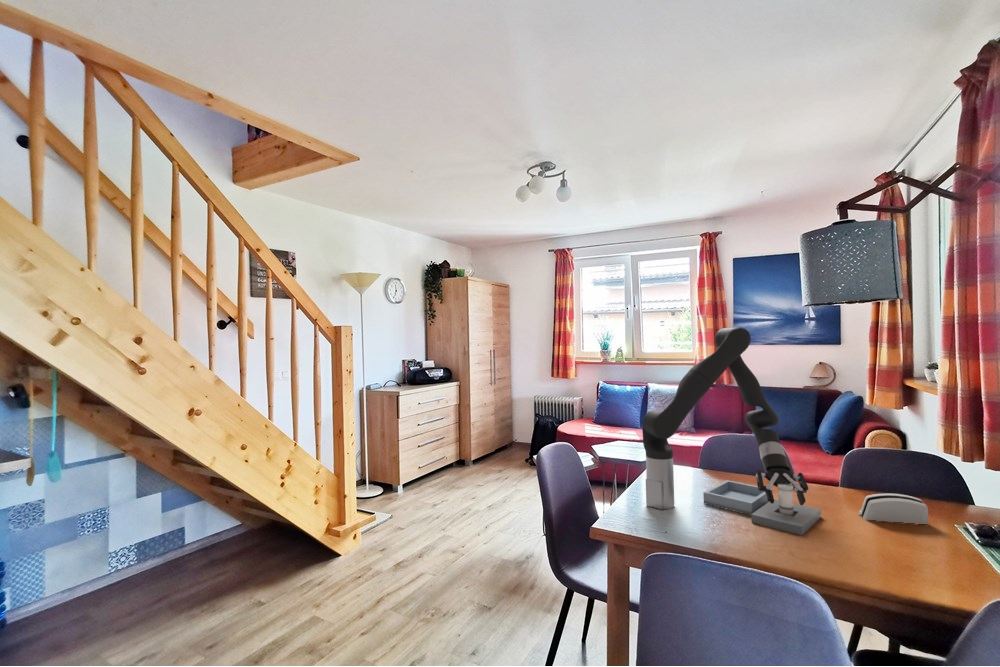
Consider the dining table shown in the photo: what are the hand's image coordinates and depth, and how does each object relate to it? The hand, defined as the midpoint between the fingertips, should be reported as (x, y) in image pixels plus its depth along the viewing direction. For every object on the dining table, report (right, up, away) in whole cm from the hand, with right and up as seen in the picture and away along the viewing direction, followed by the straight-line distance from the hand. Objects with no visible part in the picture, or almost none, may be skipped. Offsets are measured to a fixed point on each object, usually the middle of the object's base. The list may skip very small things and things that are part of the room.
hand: (787, 503), depth 146 cm
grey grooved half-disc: (+33, -5, -2) cm, 33 cm away
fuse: (0, -6, +1) cm, 6 cm away
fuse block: (0, -6, +1) cm, 6 cm away
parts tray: (-6, -6, +18) cm, 20 cm away
